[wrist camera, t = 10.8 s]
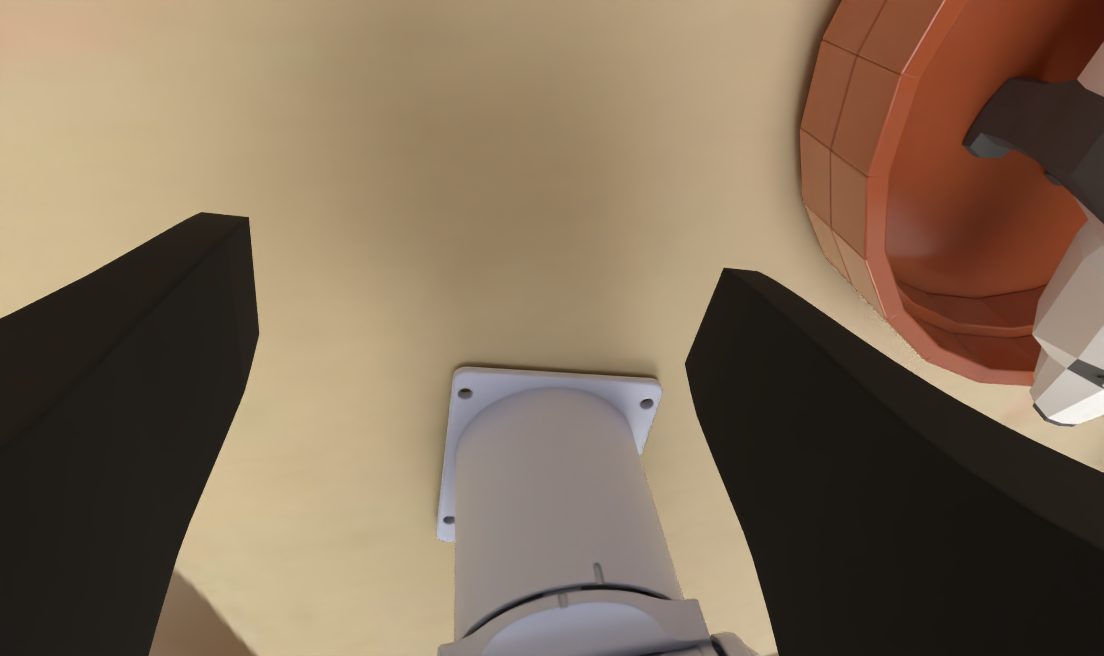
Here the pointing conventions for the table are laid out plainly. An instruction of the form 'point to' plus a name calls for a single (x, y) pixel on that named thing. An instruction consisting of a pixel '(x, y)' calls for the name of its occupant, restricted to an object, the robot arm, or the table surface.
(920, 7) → the bowl
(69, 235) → the table surface
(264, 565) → the table surface
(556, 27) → the table surface
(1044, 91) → the giant panda
